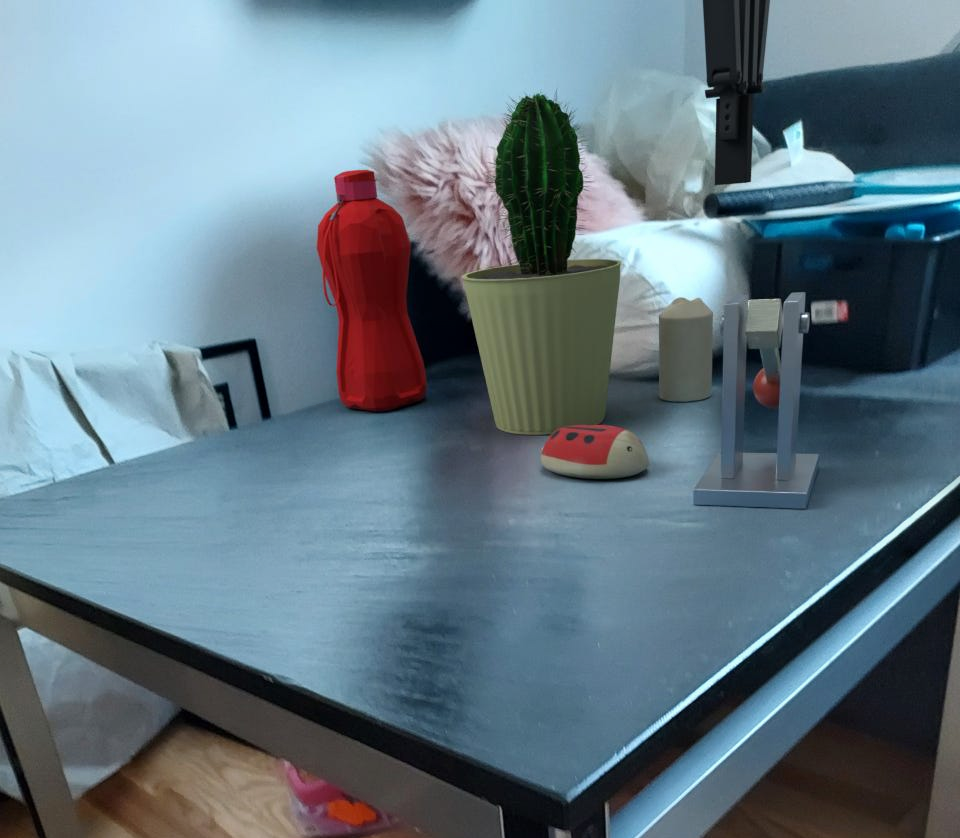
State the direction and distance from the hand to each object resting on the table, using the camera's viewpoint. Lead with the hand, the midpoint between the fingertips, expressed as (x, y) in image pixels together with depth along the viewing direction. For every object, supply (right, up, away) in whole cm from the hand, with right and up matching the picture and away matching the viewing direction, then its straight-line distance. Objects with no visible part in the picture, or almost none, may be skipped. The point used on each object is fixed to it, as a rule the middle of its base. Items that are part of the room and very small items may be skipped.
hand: (732, 183), depth 81 cm
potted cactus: (-14, -17, +17) cm, 28 cm away
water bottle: (-33, -12, +31) cm, 47 cm away
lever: (+1, -19, -8) cm, 21 cm away
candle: (+1, -13, +21) cm, 25 cm away
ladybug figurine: (-12, -25, 0) cm, 28 cm away
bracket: (0, -27, -8) cm, 28 cm away
